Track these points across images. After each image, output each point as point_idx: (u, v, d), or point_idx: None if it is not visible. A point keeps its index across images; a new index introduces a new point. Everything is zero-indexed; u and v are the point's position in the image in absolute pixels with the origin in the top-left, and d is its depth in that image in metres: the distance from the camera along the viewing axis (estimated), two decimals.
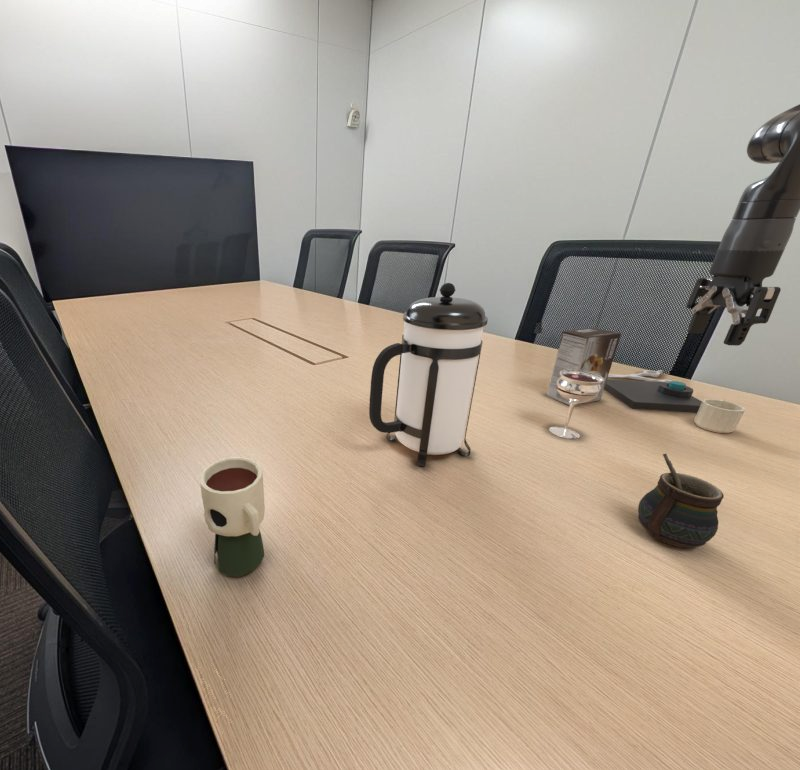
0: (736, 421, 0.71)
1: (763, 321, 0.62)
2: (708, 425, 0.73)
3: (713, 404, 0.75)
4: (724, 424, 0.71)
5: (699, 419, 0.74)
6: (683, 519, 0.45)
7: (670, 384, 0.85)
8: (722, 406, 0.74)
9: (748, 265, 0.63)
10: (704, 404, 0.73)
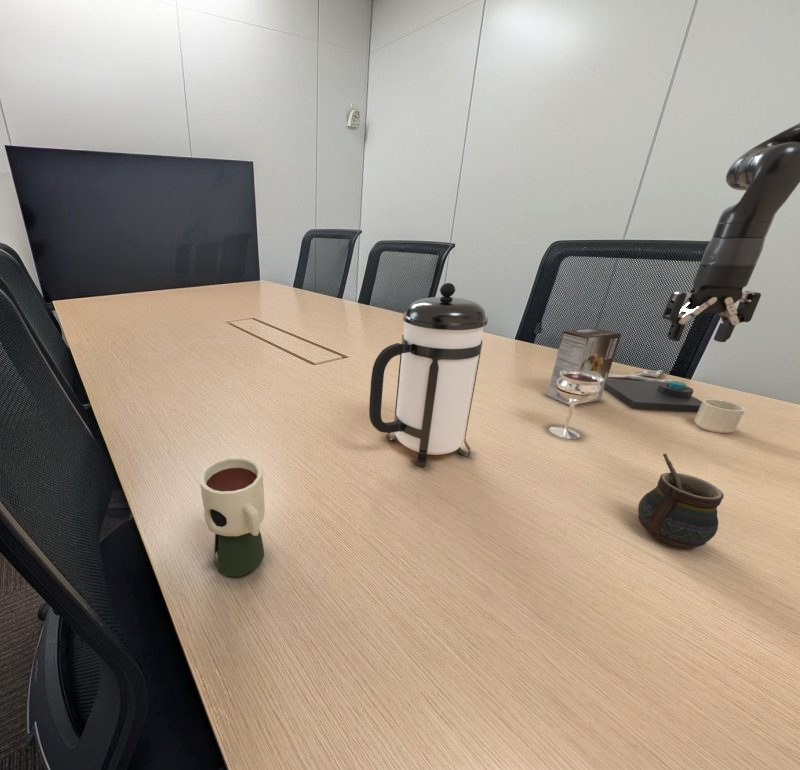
0: (736, 421, 0.71)
1: None
2: (708, 425, 0.73)
3: (713, 404, 0.75)
4: (724, 424, 0.71)
5: (699, 419, 0.74)
6: (683, 519, 0.45)
7: (670, 384, 0.85)
8: (722, 406, 0.74)
9: None
10: (704, 404, 0.73)
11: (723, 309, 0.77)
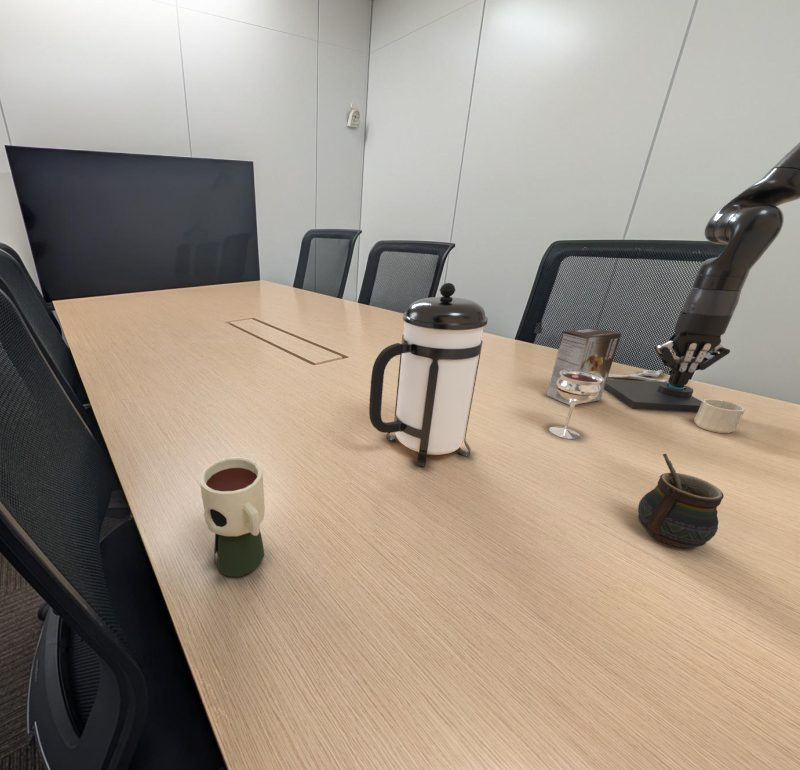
0: (736, 421, 0.71)
1: None
2: (708, 425, 0.73)
3: (713, 404, 0.75)
4: (724, 424, 0.71)
5: (699, 419, 0.74)
6: (683, 519, 0.45)
7: None
8: (722, 406, 0.74)
9: None
10: (704, 404, 0.73)
11: (695, 353, 0.81)
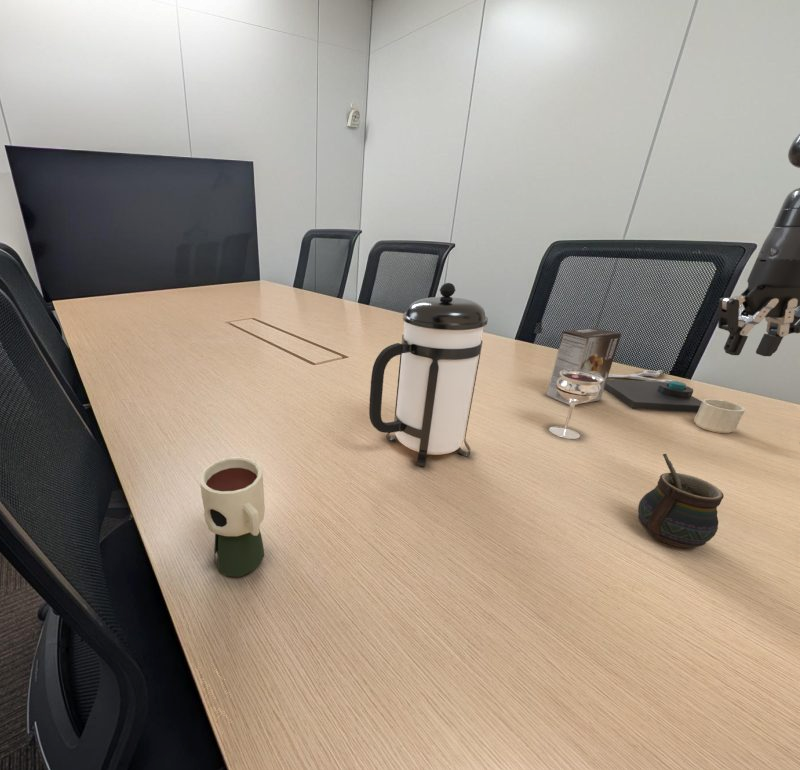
0: (736, 421, 0.71)
1: None
2: (708, 425, 0.73)
3: (713, 404, 0.75)
4: (724, 424, 0.71)
5: (699, 419, 0.74)
6: (683, 519, 0.45)
7: (670, 384, 0.85)
8: (722, 406, 0.74)
9: None
10: (704, 404, 0.73)
11: (779, 313, 0.64)
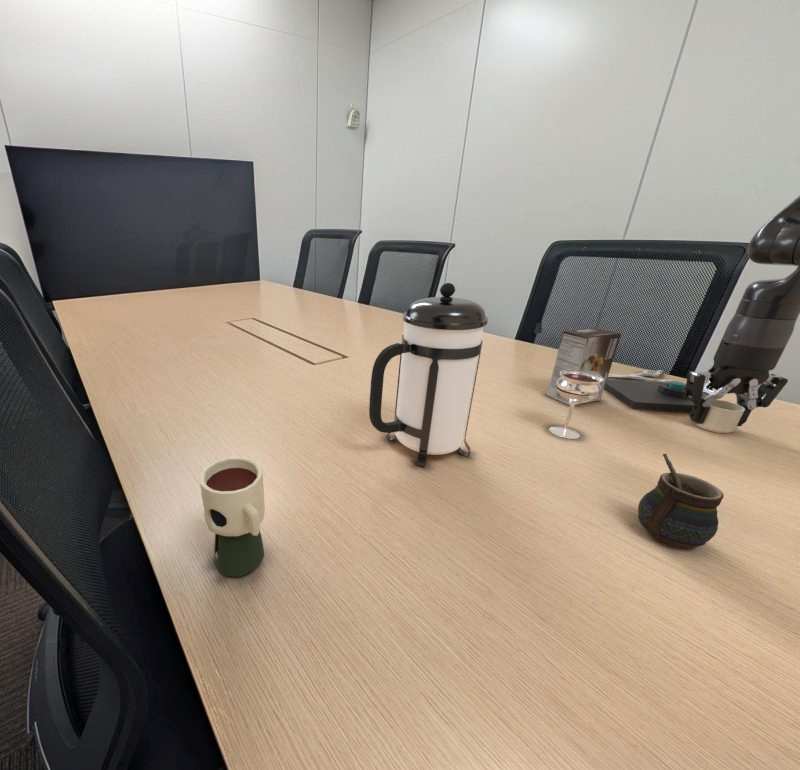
0: (736, 421, 0.71)
1: None
2: (708, 425, 0.73)
3: (713, 404, 0.75)
4: (724, 424, 0.71)
5: None
6: (683, 519, 0.45)
7: (670, 384, 0.85)
8: (722, 406, 0.74)
9: None
10: None
11: (744, 390, 0.70)
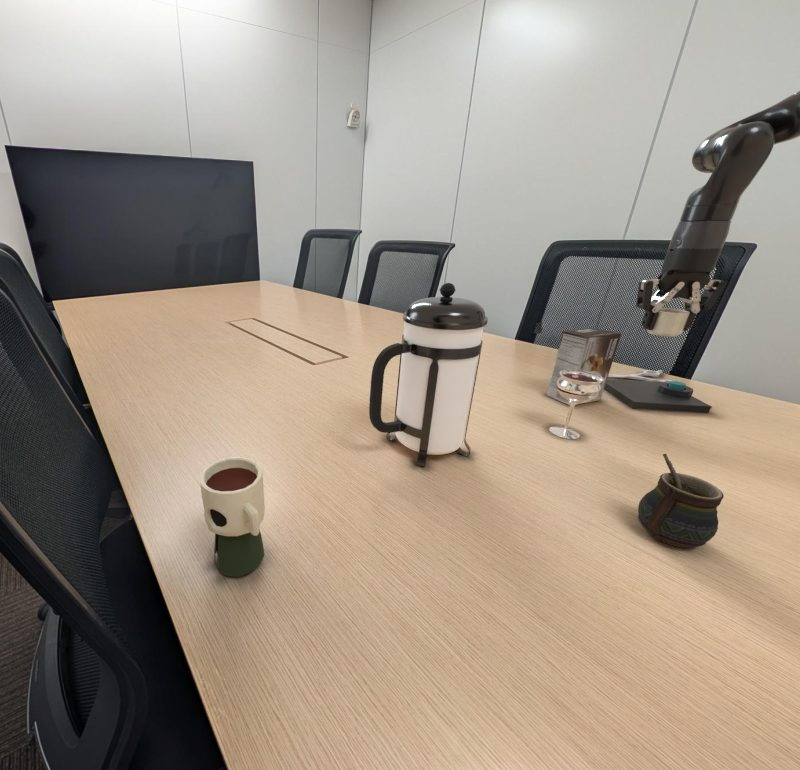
0: (682, 324, 0.77)
1: None
2: (657, 330, 0.79)
3: None
4: (671, 327, 0.78)
5: None
6: (683, 519, 0.45)
7: (670, 384, 0.85)
8: None
9: (717, 260, 0.73)
10: None
11: (688, 294, 0.76)
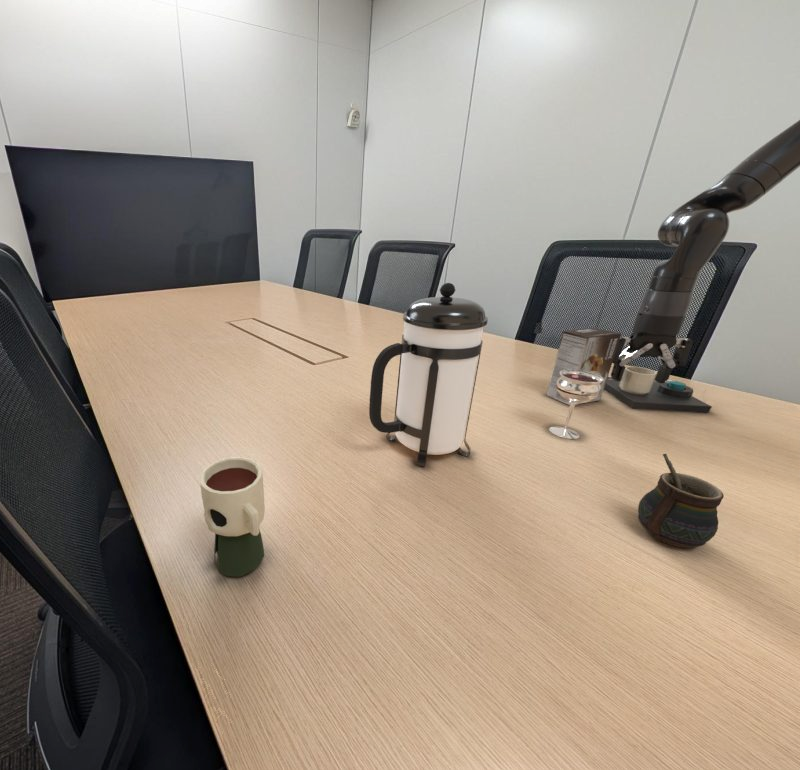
0: (649, 383, 0.84)
1: None
2: (628, 388, 0.86)
3: (634, 371, 0.88)
4: (640, 386, 0.84)
5: (622, 383, 0.87)
6: (683, 519, 0.45)
7: (670, 384, 0.85)
8: (641, 372, 0.87)
9: (681, 325, 0.79)
10: (625, 370, 0.87)
11: (660, 354, 0.82)
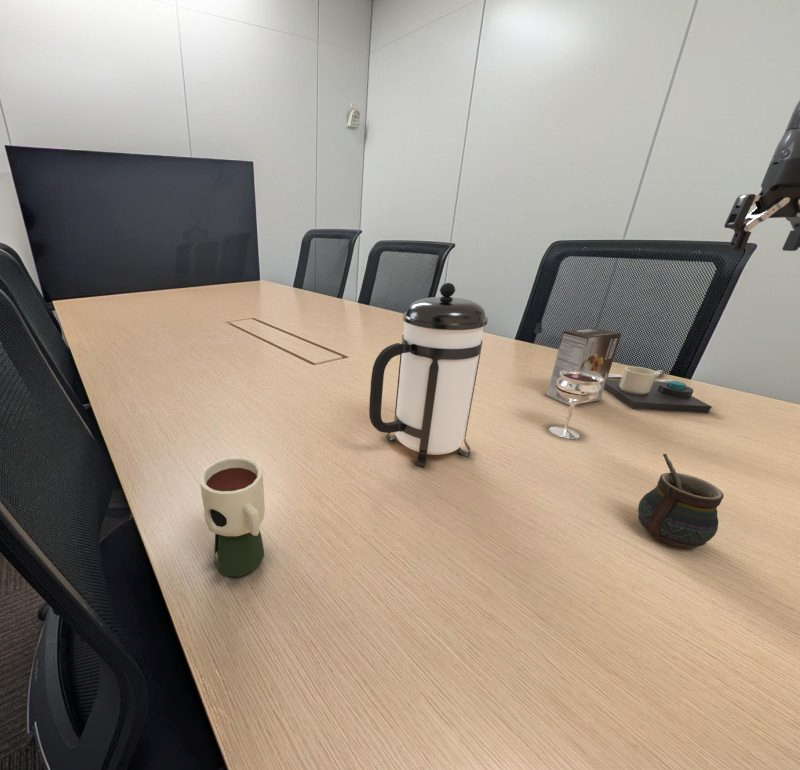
0: (649, 383, 0.84)
1: None
2: (628, 388, 0.86)
3: (634, 371, 0.88)
4: (640, 386, 0.84)
5: (622, 383, 0.87)
6: (683, 519, 0.45)
7: (670, 384, 0.85)
8: (641, 372, 0.87)
9: None
10: (625, 370, 0.87)
11: (796, 212, 0.71)
